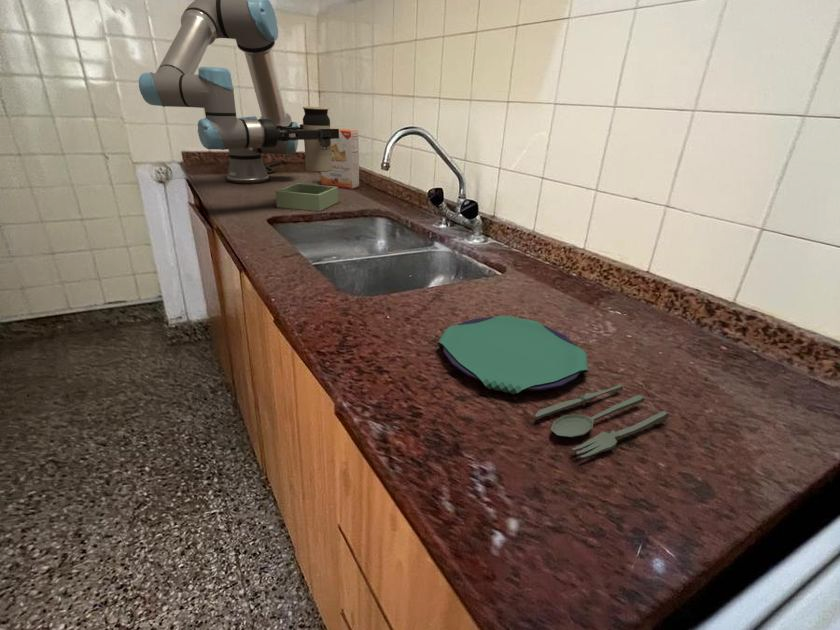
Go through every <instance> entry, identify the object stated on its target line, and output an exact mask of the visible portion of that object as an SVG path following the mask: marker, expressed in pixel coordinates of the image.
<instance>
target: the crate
mask: <svg viewBox="0 0 840 630" xmlns="http://www.w3.org/2000/svg"><path fill="white" fill-rule="evenodd" d="M274 191H275V201H276V208H283V209H291V210H292V209H293V210H301V211H302V210H303V211H311V212H321V211H323V210H325V209H327V208H329V207H331V206H333V205H335V204H337V203H339V202H340V201H339V187H333V186H326V185H322V184H311V183H299V182H297V183H295V184H292V185H288V186H285V187H283V188H280V189H277V190H274Z"/></svg>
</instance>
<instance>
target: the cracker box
mask: <svg viewBox="0 0 840 630" xmlns="http://www.w3.org/2000/svg"><path fill="white" fill-rule="evenodd" d="M330 129H339V139H331V157H332V170H330V171H328V172H320V182H321V183H320V185H323V186H333V187H338V188H341V189H347V190H353V189H354V190H355V189H357V188H359V187H360V164H359V163H360V162H359V161H360V153H359V151H360V149H359V130H357V129H346V128H338V127H336V128H335V127H330Z"/></svg>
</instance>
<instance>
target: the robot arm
mask: <svg viewBox="0 0 840 630" xmlns="http://www.w3.org/2000/svg"><path fill="white" fill-rule="evenodd" d="M180 17H181V18H180V25H181V26H180V28H179V29H178V31H177V33H176V35H175V37H174V39H173V40H172V42H171V44H170V46H169V48H168V50H167V51H166V54H165V55H164V57H163V59H162V61H161V62H160V65H159V66H158V68H157V70H156V72H153V71H149V72H143V73H141V74H140V75H139V78H138V88H139V92H140V94H141V97H142V99H143V100H144V102H145V103H147V104H148V105H150V106H156V107H157V106H158V107H163V108H166V107H168V108H169V107H172V108H196V109H197V108H199V109H203V110H204V114H205V115H204V116H205V117H204V118H201V119H199V120H198V122H197V134H198V139H199V141H200V143H201V146H203V147H204V149H207V150H216V151H217V150H221V151H225V150H227V151H228V155H229V164H228V169H227V174H226V177H227V182H229V183H233V184H261V183H265V182H268V181H269V174H272V173H274V172H275V169H274V168H272V167H273V166H277V165H279V164H281V163H284V164H285V165H286V164H287V161H285V160H284V159H280V160H278V161H276V162H273V163H268V164H267V165H266V166H265V165H264V162H263V160H262V154H270V155H271V154H272V155H284V156H287V155H294V154H296V153H297V150H298V145H299V141H304V140H319V142H321V140H322V139H339V129H340V128H339V129H318V130H306V129H303V123H302V124H299V125H298V123H297V122H296V121H292V117H291V115H290V114H289V113H288V112H286V108H285V104H284V99H283V95H282V91H281V86H280V81H279V77H278V73H277V67H276V63H275V58H274V54H273V50H272V49H273V48H274V47H275V44H276V41H277V40H278V38H279V27H278V19H277V16H276V12H275V9H274V7H273V4H272V2H271V1H270V0H193V1H192V2H190V4H189V5H187V7H186V8H185V9H184V11H183V13H182V15H181V16H180ZM216 39H229V40H230V39H231V40H235V42H236V46H237V48H238V49H239V50H240V51H241V52H243V53H244V56H245V60H246V63H247V68H248V71H249V74H250V79H251V82H252V85H253V89H254V93H255V96H256V100H257V105H258V108H259V111H260V115H261V116H259V118H258V117H257V116H256V115H255V116H245V117H237V109H236V100H235V92H234V90H235V88H234V86H233V80H232V76H231V75H232V74H231V72H230V70H229V69H227V68H226V67H218V66H217V67H214V66H200V63H201V62H202V59H203V57H204V55H205V52H206V51H207V49H208V47H209V45H212V44H213V43H214V42H215V40H216ZM199 66H200V67H199ZM197 70H198V73H197V74H196V72H197ZM284 161H285V162H284ZM266 168H267V169H269V170H268V171H267V169H266Z"/></svg>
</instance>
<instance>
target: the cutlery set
mask: <svg viewBox="0 0 840 630" xmlns="http://www.w3.org/2000/svg"><path fill="white" fill-rule="evenodd" d="M437 344H438V345H439V346H440V347H442V348H443V354H444V356H445V357H446V358H447V360H448V361H449V362H450V364H451V365H452V366H453V367H454V368H456V369H457V370H459V371H460V372H461V373H463V374H464V375H466V376H467V377H469V378H472V379H474V380H477V381H479V382H482V383H483V385H484V386H485V388H487V389H488V390H495V391H499V392H504V393H509V394H512V395H515V394H518V393H520V392H522V391H534V392H535V391H536V392H537V391H539V392H540V391H544V390H551V389H555V388H561V387H563V386H565V385H567V384H569V383H571V382H573V381H574V380H576V379H577V377H578V376H579V375H580V373H581V374H586V373H589V365H588V361H589V359H588V355H587V352H586V351H585V350H583V349H582V348H581V347H579V346H578V345H577V344H576V343H575V342H574V341H572V339H570V338H569V337H568V336H566V335H565V334H563V333H561V332H559V331H557V330H555V329H553V328H551V327H549V326H547V325H543V324H542V323H540V322H539V321H536V320H531V319H529V318H527V319H525V318H523V317H521V318H519V317H517V316H514V317H512V316H511V315H508V316H506V315H497V316H486V317H479V318H472V319H469V320H466V321H462V322H460V323H458V324H455V325H451V326H447V327H446V328H445V329H444V331H443V332H442V334H441V336H440V337H439V339H438V341H437ZM623 388H624V385H622V384H621V383H618V384H617V385H614V386H612V387H610V388H607V389H603V390H602V389H601V390H599V391H596V392H586V393H585V394H584V395H581V394H580V393H579V394H578V398H574V399H569V400H565V401H561V402H558V403H556V404H553V405H550V406H547V407H544V408H541V409H539V410H538V411H537V412H536V413H535V416H534V419H535V420H537V419H541V418H544V417H547V416H550V415H553V414H555V413H557V412H558V413H559V412H560V411H564V410H566V409H569V408H571V407H574V406H578V405H580V404H581V405H582V406H583V407H585V405H586V403H587V402H591V403H592V402H593V401H594V400H595V399H596V398H598V397H599V396H604V395H606V394H608V393H610V392H614V391H617V390H620V391H623ZM645 400H646V397H644V396H642V395H641V394H638V395H634V396H632V397H630V398H628V399H626V400H623V401H621V402H619V403H616V404H614V405H612V406H610V407H608V408H607V409H605V410H603V411H600V412H598V413H596V414H595V415H593V416H588V415H585V414H577V413H572V414H567V415H562V416H560V417H559V418H557V419H556V420H554V421H553V422H552V424H551V427H550V431H552V432H553V433H554V434H555V435H556V436H559V437H565V438H566V437H567V438H577V437H582V436H585V435H587V434H588V433H589V432H590V431H591V430H592V429H593V428H594V422H595V421H597V420H599V419H602V418H604V417H606V416H609V415H611V414H613V413H616V412H619V411H621V410H624V409H627V408H629V407H632V406H635V405H639V404H641V403H644V402H645ZM669 416H670V413H669V412H667V411H666V410H662V411H660V412H658V413H656V414H654V415H651V416H649V417H648V418H646V419H644V420H641V421H640V422H638V423H635V424H633V425H631V426H628V427H626V428H625V427H624V428H622V429H620V430H617V431H616V430H614V429H612V430H611V431H610V432H607V431H604V430H601V432H600V433H598V434H597V435H595V436H593V437H592V438H590V439H588V440H586V441H585V442H583V443H581V444H579V445H577V446H575V447H573V448H571V451H572V452H575V455H577V456H579V458H580V459H582V460H583V459H586V458H590V457H592V456H595V455H597V454H599V453H603V452H607V451H611V450H613V449H615V448H616V447H617V443H618V442H619V439H621V438H624V437H627V436H631V435H634V434H637V433H639V432H641V431H643V430H645V429H648V428H650V427H652V426H653V425H655V424H658V423H660V422H663V421H666V420H668V419H669ZM576 451H577V452H576Z"/></svg>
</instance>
